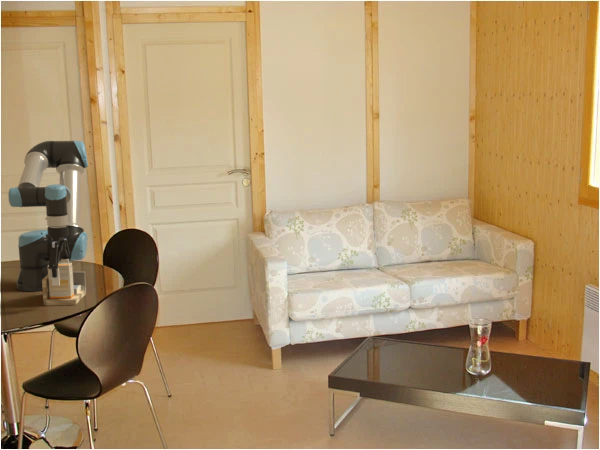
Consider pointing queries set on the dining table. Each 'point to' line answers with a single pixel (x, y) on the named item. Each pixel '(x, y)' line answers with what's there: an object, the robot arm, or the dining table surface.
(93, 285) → the dining table surface
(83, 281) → the shelf
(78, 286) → the flat book
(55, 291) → the supplement box
